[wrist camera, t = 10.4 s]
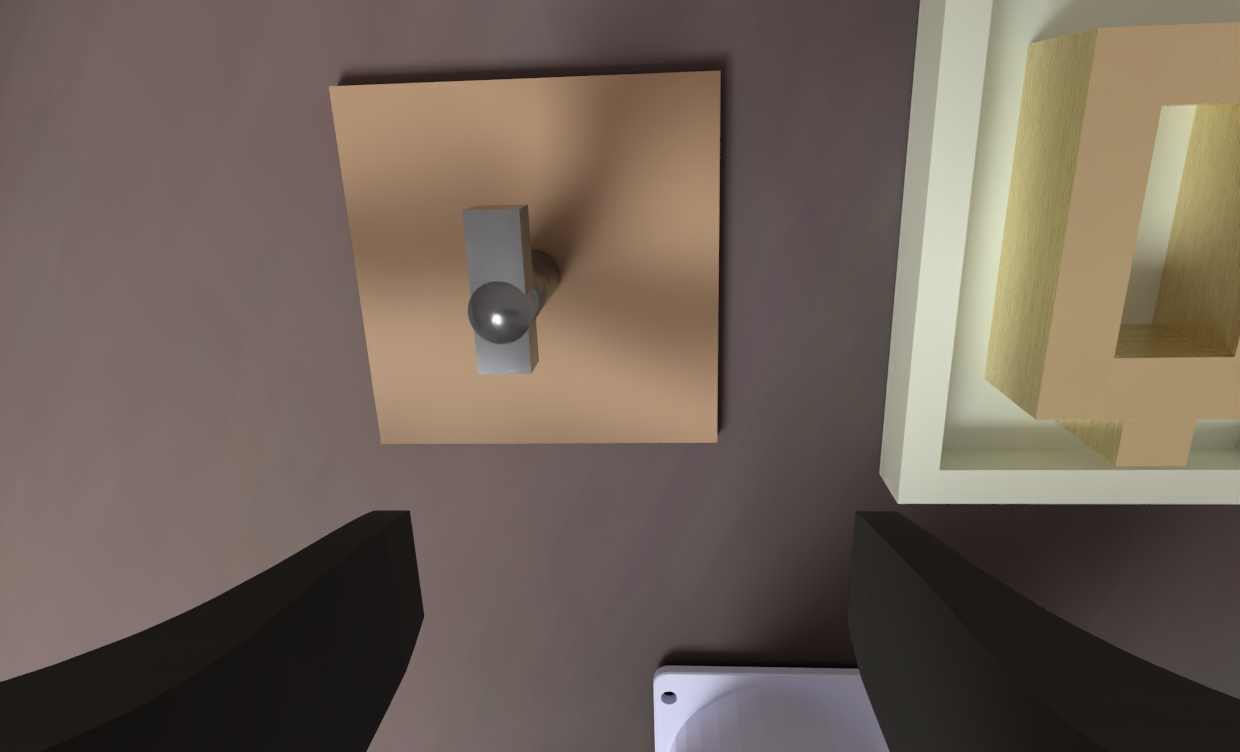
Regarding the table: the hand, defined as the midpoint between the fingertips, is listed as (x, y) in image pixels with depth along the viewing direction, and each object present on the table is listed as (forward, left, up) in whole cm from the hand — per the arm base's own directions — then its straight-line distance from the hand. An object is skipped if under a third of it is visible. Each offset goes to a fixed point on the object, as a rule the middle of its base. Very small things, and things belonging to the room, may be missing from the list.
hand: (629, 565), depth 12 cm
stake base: (+3, +3, -10) cm, 11 cm away
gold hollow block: (+4, -12, -9) cm, 16 cm away
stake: (+3, +3, -10) cm, 11 cm away
